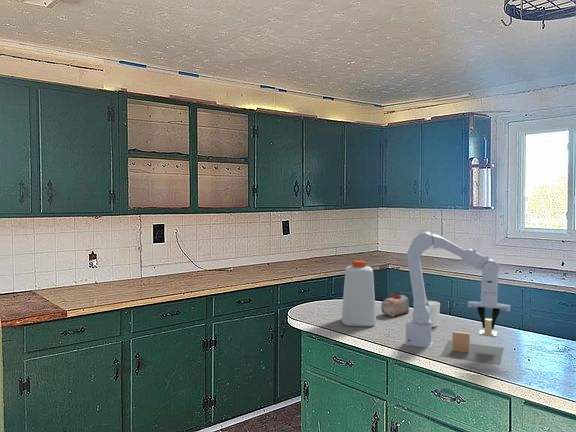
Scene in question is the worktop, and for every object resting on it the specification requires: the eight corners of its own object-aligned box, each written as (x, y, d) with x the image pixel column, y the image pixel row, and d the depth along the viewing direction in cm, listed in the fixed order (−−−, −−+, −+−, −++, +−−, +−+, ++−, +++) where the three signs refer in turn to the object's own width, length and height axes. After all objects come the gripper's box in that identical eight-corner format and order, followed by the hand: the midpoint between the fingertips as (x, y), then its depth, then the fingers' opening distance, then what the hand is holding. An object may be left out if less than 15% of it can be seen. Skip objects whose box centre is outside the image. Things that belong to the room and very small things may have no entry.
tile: (452, 350, 189) (452, 332, 189) (452, 349, 191) (453, 331, 190) (469, 352, 187) (469, 334, 186) (469, 351, 188) (469, 333, 188)
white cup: (427, 328, 221) (427, 305, 220) (417, 323, 229) (418, 301, 228) (443, 326, 223) (443, 304, 223) (433, 322, 231) (433, 300, 230)
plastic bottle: (374, 318, 237) (374, 258, 235) (376, 327, 222) (377, 264, 220) (341, 317, 238) (342, 258, 237) (341, 326, 223) (342, 263, 222)
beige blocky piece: (478, 335, 188) (479, 320, 187) (480, 331, 193) (480, 316, 193) (496, 337, 185) (496, 322, 185) (497, 333, 191) (497, 318, 190)
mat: (440, 357, 183) (440, 356, 183) (448, 342, 201) (448, 340, 201) (500, 366, 175) (500, 364, 175) (503, 349, 193) (503, 347, 193)
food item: (393, 318, 237) (393, 297, 237) (379, 315, 243) (380, 294, 243) (410, 313, 246) (410, 293, 246) (396, 310, 252) (397, 290, 252)
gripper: (511, 291, 189) (510, 327, 189) (469, 288, 195) (469, 323, 196) (510, 295, 182) (509, 332, 183) (467, 291, 188) (466, 327, 189)
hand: (488, 328), depth 189 cm, fingers closed on beige blocky piece, 2 cm apart
